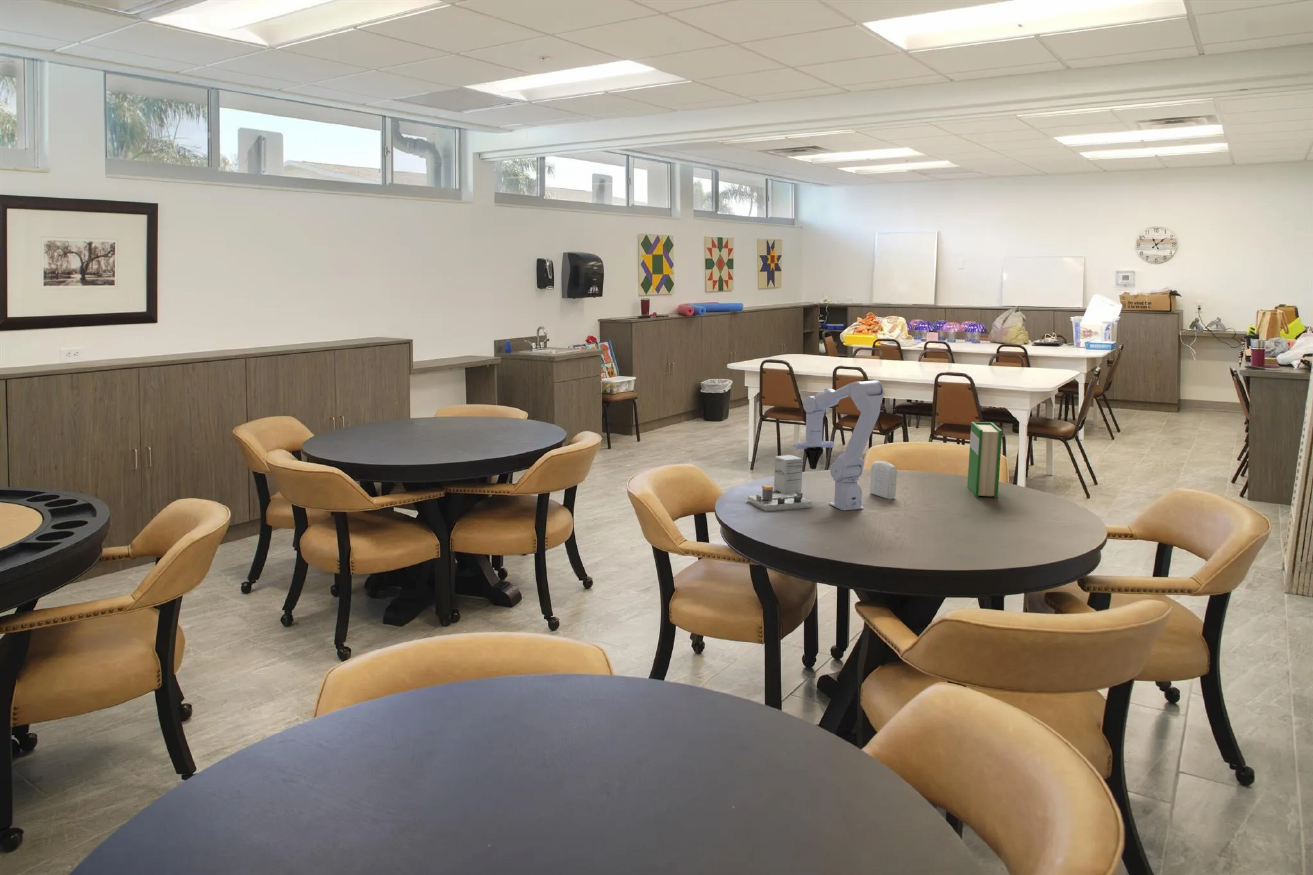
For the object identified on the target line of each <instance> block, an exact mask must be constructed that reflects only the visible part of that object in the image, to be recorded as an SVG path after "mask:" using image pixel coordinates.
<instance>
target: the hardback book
mask: <svg viewBox="0 0 1313 875" xmlns="http://www.w3.org/2000/svg"><path fill="white" fill-rule="evenodd" d="M970 423H971V424H970V436H969V437H970V438H969V454H968V468H967V469H968V471H967V472H968V473H967V482H966V483H967V485H966V487H967V486H968V487H967V488H968V489H969V491H970V492H971V493H972V495H973V496H974V498H975V497H978V498H979V496H980V497H981V496H982V497H993V496H994V497H995V498H998V497H999V484H1000V471H1001V470H1000V468H1001V454H1002V442H1003V441H1002V440H1003V430H1002V429H1001V428H1000V427H999V426H998V425H996V424H995V423H994V422H990V421H989V422H988V421H987V422H986V421H985V422H984V421H983V422H982V421H981V422H979V421H971V422H970ZM994 497H993V498H994ZM995 498H994V499H995Z"/></svg>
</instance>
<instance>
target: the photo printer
mask: <svg viewBox="0 0 1313 875" xmlns="http://www.w3.org/2000/svg"><path fill="white" fill-rule="evenodd" d="M870 468H871V469H870V486H869V489H870V490H869V492H870V493H871V494H873V495H875V496H878V497H881V498H884V499H887V500H893V499H895V497H896V491H897V479H898V478H897V475H898V474H897V473H898V470H897V467H896V466H895V465H894V464H892V463H890V462H889V461H886V460H876V461H873V462H872V464H871V467H870Z"/></svg>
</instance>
